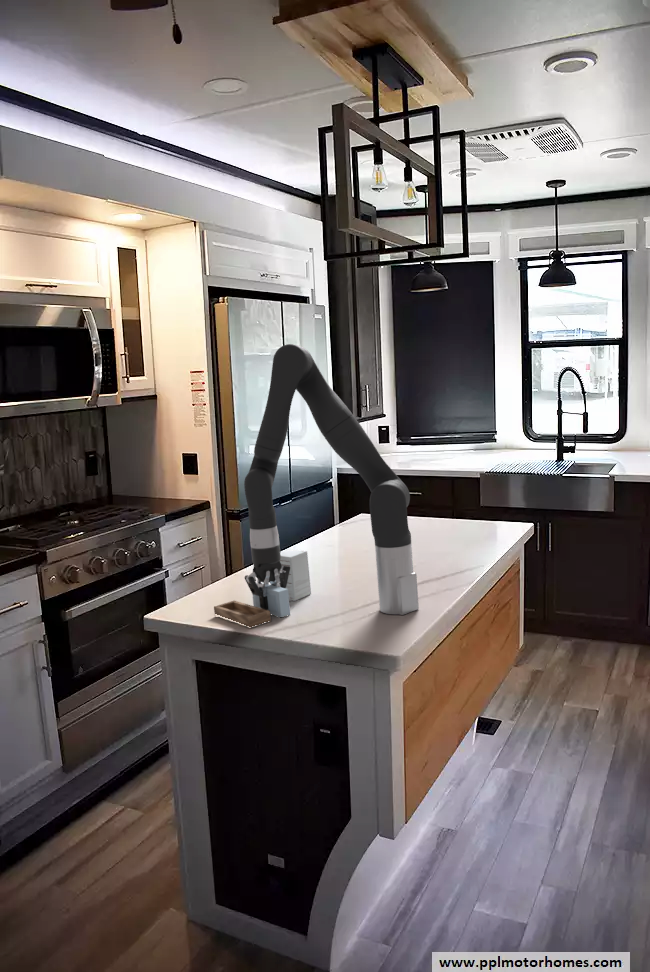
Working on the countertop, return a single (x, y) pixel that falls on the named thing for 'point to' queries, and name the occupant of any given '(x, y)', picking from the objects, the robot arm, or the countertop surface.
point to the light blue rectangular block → (275, 601)
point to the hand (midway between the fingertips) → (271, 607)
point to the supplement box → (296, 573)
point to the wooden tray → (243, 613)
